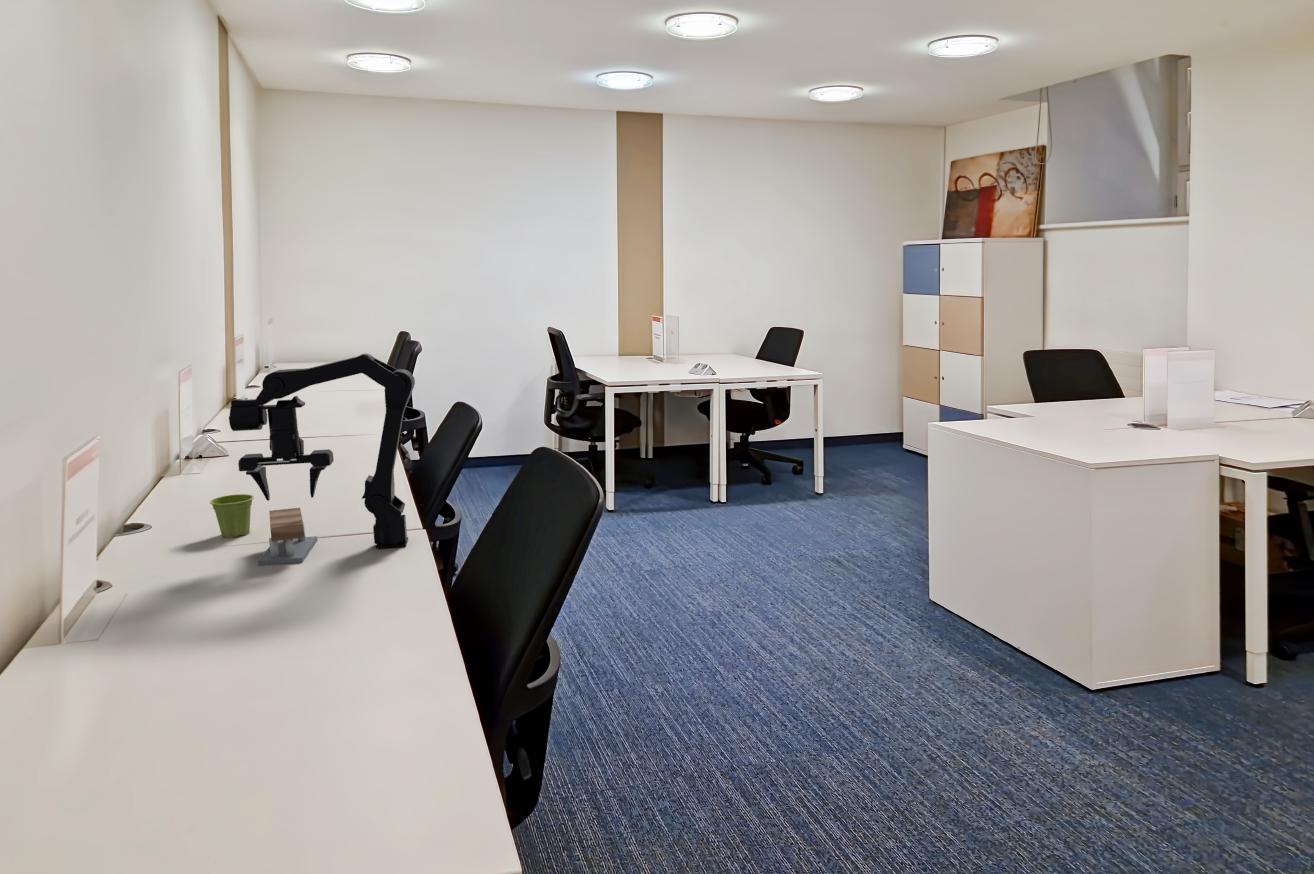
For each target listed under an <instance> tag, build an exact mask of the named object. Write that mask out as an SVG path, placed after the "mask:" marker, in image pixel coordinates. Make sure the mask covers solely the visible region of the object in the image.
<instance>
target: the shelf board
mask: <svg viewBox="0 0 1314 874" xmlns="http://www.w3.org/2000/svg"><path fill="white" fill-rule="evenodd" d="M303 522H304V521H303V515H302V510H301V507H292V508H284V509H274V510H269V528H270V536H271V537H270V538H271V540H272V541H280V540H288V539H297V538H305V537H306V536H305V537H304V528H305V525H304V526H303Z"/></svg>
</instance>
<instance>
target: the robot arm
mask: <svg viewBox="0 0 1314 874" xmlns="http://www.w3.org/2000/svg"><path fill="white" fill-rule="evenodd" d="M359 374H363V375H365V376H367V377H368V378H369V379H371V380H372V381H373V382H375V383H376V384H378V385H380V386H382V387H384V402H385V414H384V421H383V427H382V434H381V438H380V443H379V444H380V445H379V450H378V456H377V462H376V467H375V468H376V469H375V472H374V473H373V475H370V474H369V475H367V477H366V479H365V481H364V492H363V496H362V497H361V499H362V500H364V507H365V509H366V510H367V511H368V512H370V513H371V514H373V516H374V518H375V520H374V522H375V523H374V524H373V528H372V529H373V544H375V549H388V548H402V547H406V546H407V544H408V541H409V537H408V532H407V520H406V514H403V513H404V509H405V506H406V503H405V502H403V501H402V500H401V499H400V498H399V497H398V496H397V495H396V491H395V488H396V487H395V474H394V473H395V470H394V469H395V465H396V461H397V460H396V459H397V453H398V447H399V443H400V436H401V431H402V427H403V425H402V424H403V419H404V414H405V411H406V408H407V405H408V403H409V402H410V398H411V396H412V393H413V390H414V387H415V384H416V381H415V377H414V376H413V374H412V372H410V371H409V370H407V369H404V368H399V369H398V368H396V367H394V366H391V365H390V364H388V363H386V362H385V361H381V360H379V359H378V358H376V357H374V356H373V355H371V354H370V353H362V354H360V355H358V356H355V357H354V356H352V357H350V358H346V359H342V360H337V361H333V362H327V363H325V364H321V365H316V366H312V367H307V368H289V369H288V368H287V369H286V368H285V369H278V370H275V371H273V372H270V373H268V374H266V375H265V377H263V380H262V385H261V386H262V389H261V391H260V392H259V393H258V395H257V396H256V398H255V399H254V398H253V399H252V398H251V399H250V398H249V399H241V398H234V399H231V400H230V409H229V416H228V422H229V427H230V429H231V431H233V432H241V431H243V432H244V431H261V430H262V429H263V426H266V425H268V428H269V451H271V454H270V455H271V456H264V455H263V453H248V454H247V453H246V454H245V455H242V457H240V458H239V460H238V464H237V465H238V471H239V472H245V474H246V476H248V475H249V476H250V477H251V478H252V479H253V480H254V481H255V483H256V484H257V485H258V487H259V489H260V491H261V493H262V494H263V496H264V497H265V499H266V501H267V502H268V501H270V500H271V495H270V489H269V484H268V479H267V467H266V466H280V465H295V464H311V465H312V466H310V468H309V494H310V498H314V497H315V493H316V488H317V485H318V481H319V476H320V474H321V472H322V471H324V470H325V469H326V468H327V467H329V466H332V464H333V463H334V454H333V453H334V452H333V451H332V450H331V448H330V449H316V450H315V449H314V450H313V451H311V453H310V454H305V448H304V447H305V443H304V440H303V439H302V438H301V437H300V433H299V427H298V417H297V409H299V408H302V407H304V406H306V402H305V401H303V400H302V399H300V398H299V397H298V395H295V396H293V397H292V398H291V399H283V398H285V397H287V396H290V395H292V394H295V393H298V392H300V391H301V390H303V389H306V388H309V387H310V386H314V385H319V384H322V383H327V382H330V381H334V380H339V379H343V378H347V377H351V376H355V375H359ZM278 399H279V400H278ZM274 400H277V401H276V404H268V403H270V402H272V401H274ZM281 459H282V460H281Z"/></svg>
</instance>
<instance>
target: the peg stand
mask: <svg viewBox="0 0 1314 874" xmlns="http://www.w3.org/2000/svg"><path fill="white" fill-rule="evenodd" d="M303 526H304V537H305V538H297V539H288V540H280V541H272V540H271V537H269V538H268V543H269V546H268V548H267V549H266V550H265V551H264V552H263V554H262V555H261V556H260V557H259V558H258V560H257V566H266V565H268V564H271V565H281V564H280V563H285V564H296V563H295V562H300V563H303V562H304V561H305V560H304V559H306V558H307V557H308V555H309V554H310V553H311V551H312V549H313V548H314V547H315V545H316V543H317V542H318V535H317V536H306V529H305V522H304V521H303ZM310 550H311V551H310ZM268 566H269V565H268Z"/></svg>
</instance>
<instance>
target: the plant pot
mask: <svg viewBox="0 0 1314 874" xmlns="http://www.w3.org/2000/svg"><path fill="white" fill-rule="evenodd" d="M254 498H255V497H254V495H252V494H243V493H240V494H228V495H222V496H219V497H215V498H212V499H211V500H209V504H211V506H212V509H213V510H214V512H215V516H216V519H217V523H218V526H219V530H220V534H221V536H222V537H224V538H227V537H228V538H232V537H233V538H237V537H240V536H246V535H248V534H250V531H251V530H250V529H251V510H252V509H251V507H252V505H253V500H254ZM245 534H246V535H245Z"/></svg>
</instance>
